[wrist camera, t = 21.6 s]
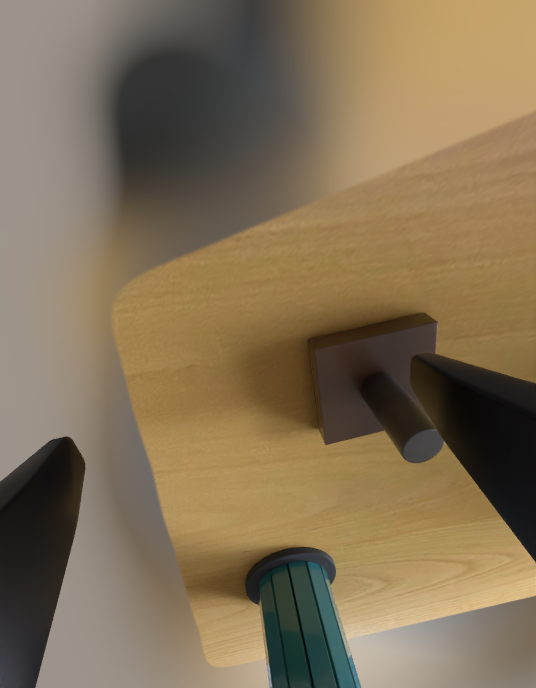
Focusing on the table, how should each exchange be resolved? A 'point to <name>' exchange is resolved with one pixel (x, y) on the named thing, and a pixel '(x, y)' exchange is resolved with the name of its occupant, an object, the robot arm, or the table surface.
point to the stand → (375, 385)
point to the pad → (285, 558)
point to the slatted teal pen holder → (303, 629)
